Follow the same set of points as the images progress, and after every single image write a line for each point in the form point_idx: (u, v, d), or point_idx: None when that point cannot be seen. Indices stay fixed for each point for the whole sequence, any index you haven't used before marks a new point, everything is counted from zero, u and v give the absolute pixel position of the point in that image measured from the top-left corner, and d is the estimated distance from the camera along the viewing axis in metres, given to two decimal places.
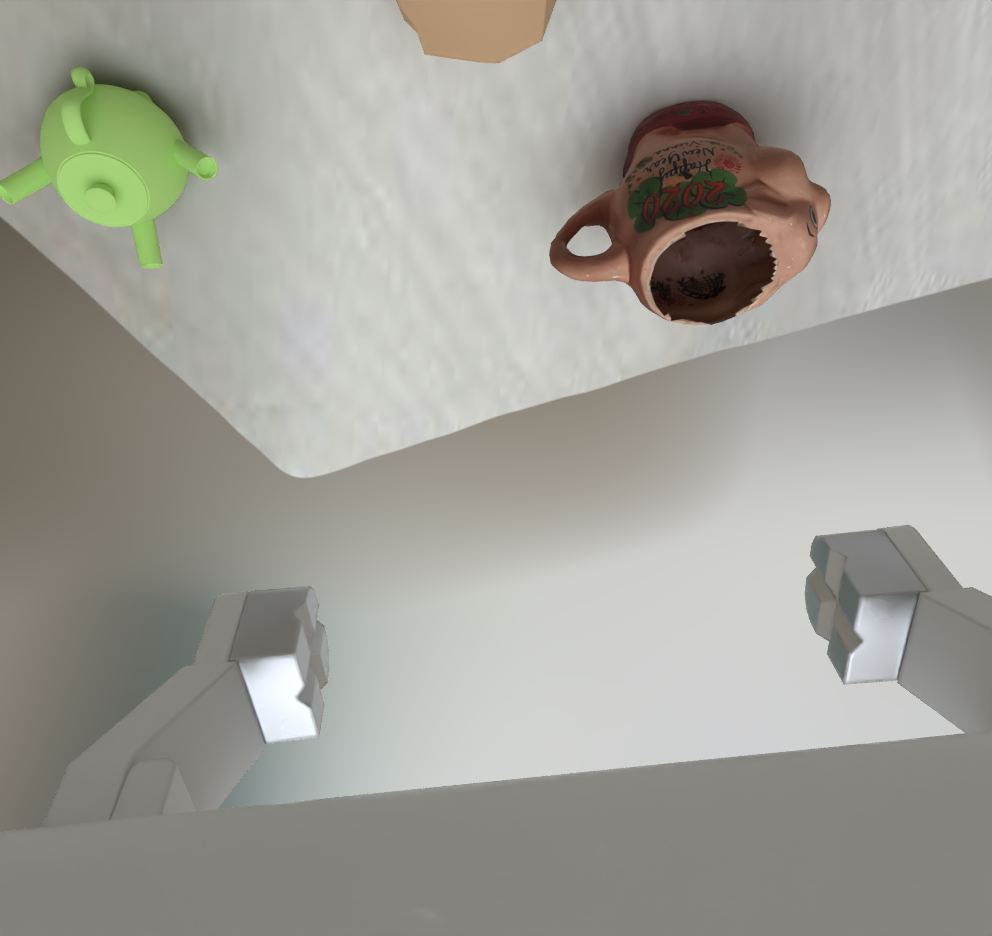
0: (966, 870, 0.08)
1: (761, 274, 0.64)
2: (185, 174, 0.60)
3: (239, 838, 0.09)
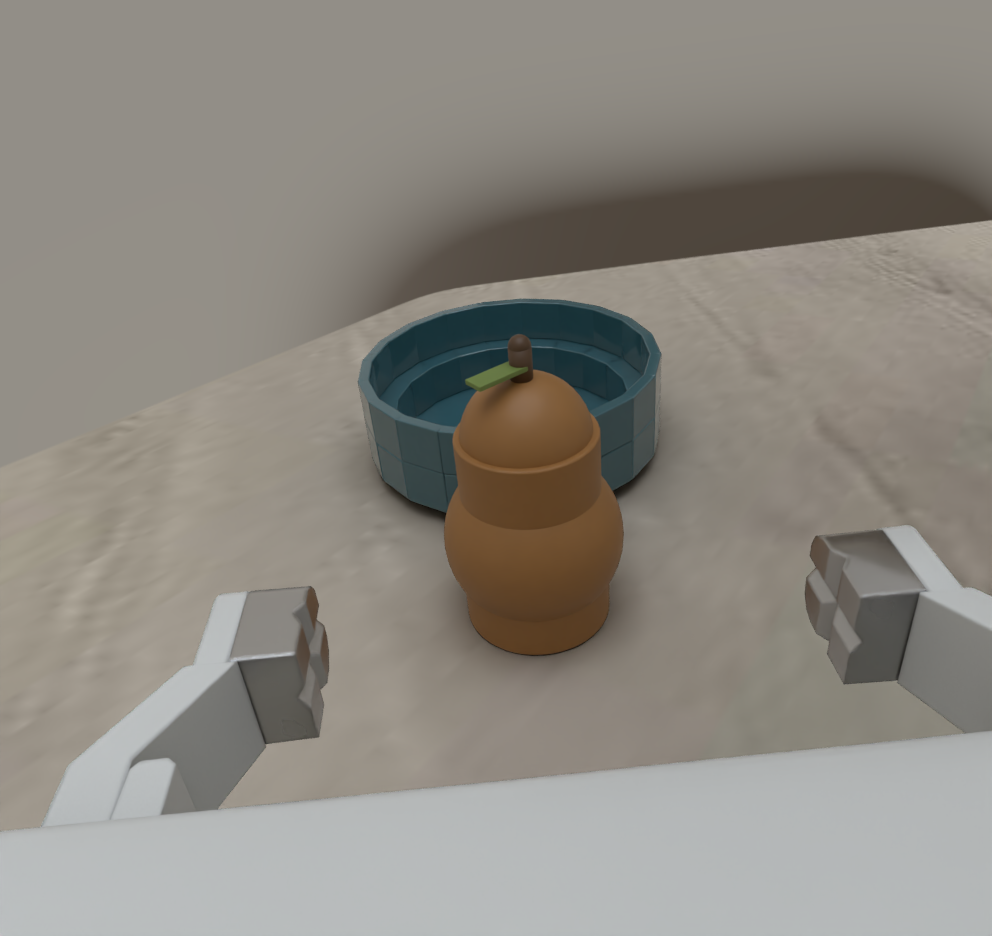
0: (966, 870, 0.08)
1: None
2: None
3: (240, 838, 0.09)
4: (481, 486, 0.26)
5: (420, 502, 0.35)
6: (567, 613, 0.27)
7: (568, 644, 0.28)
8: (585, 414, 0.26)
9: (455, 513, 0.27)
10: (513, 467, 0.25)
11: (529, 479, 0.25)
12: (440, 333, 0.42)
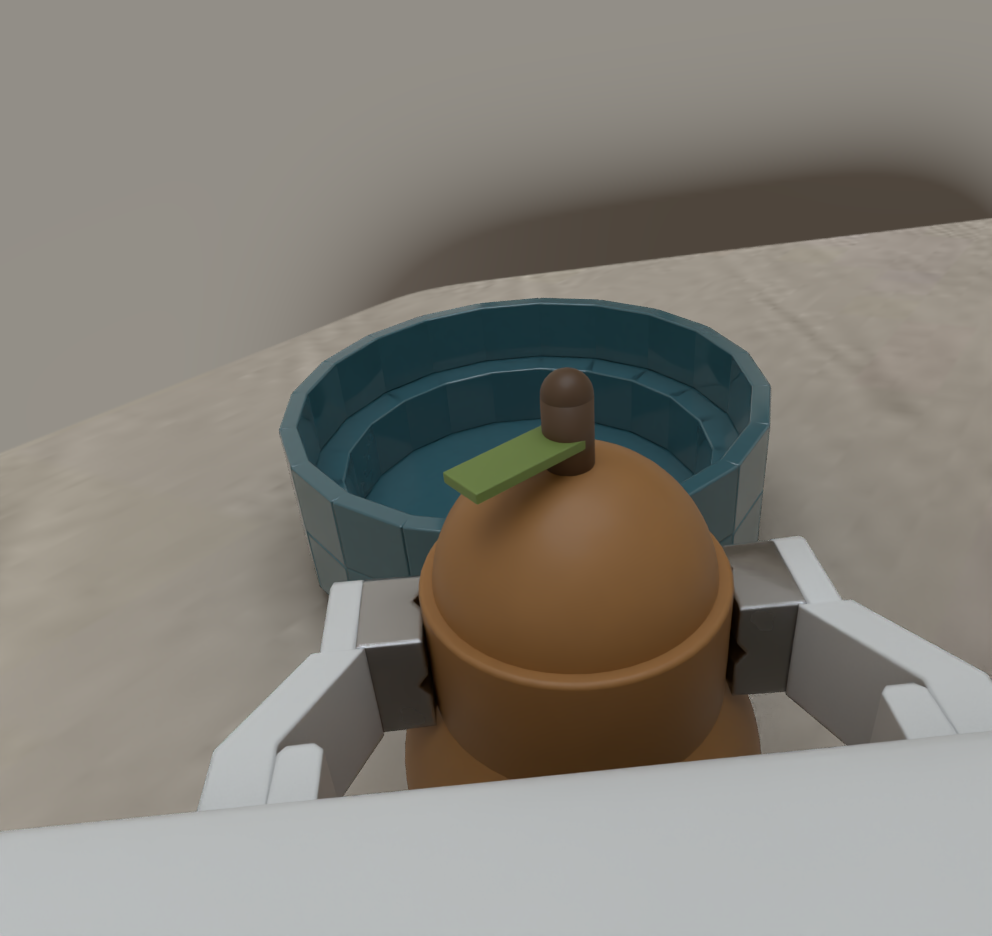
0: (966, 870, 0.08)
1: None
2: None
3: (240, 838, 0.09)
4: (479, 701, 0.12)
5: None
6: None
7: None
8: (707, 541, 0.12)
9: (424, 727, 0.13)
10: (552, 669, 0.11)
11: (589, 699, 0.11)
12: (418, 349, 0.28)
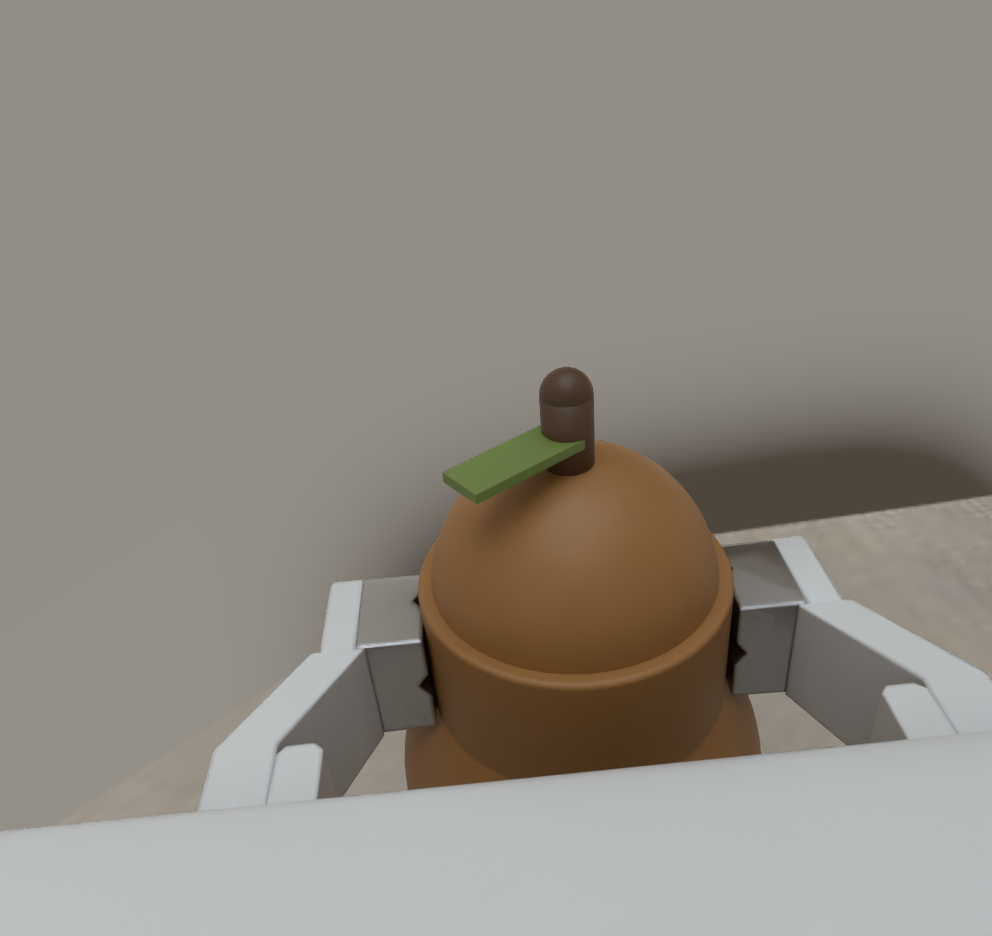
0: (966, 870, 0.08)
1: None
2: None
3: (240, 838, 0.09)
4: (478, 701, 0.12)
5: None
6: None
7: None
8: (707, 541, 0.12)
9: (423, 727, 0.13)
10: (552, 669, 0.11)
11: (588, 699, 0.11)
12: None
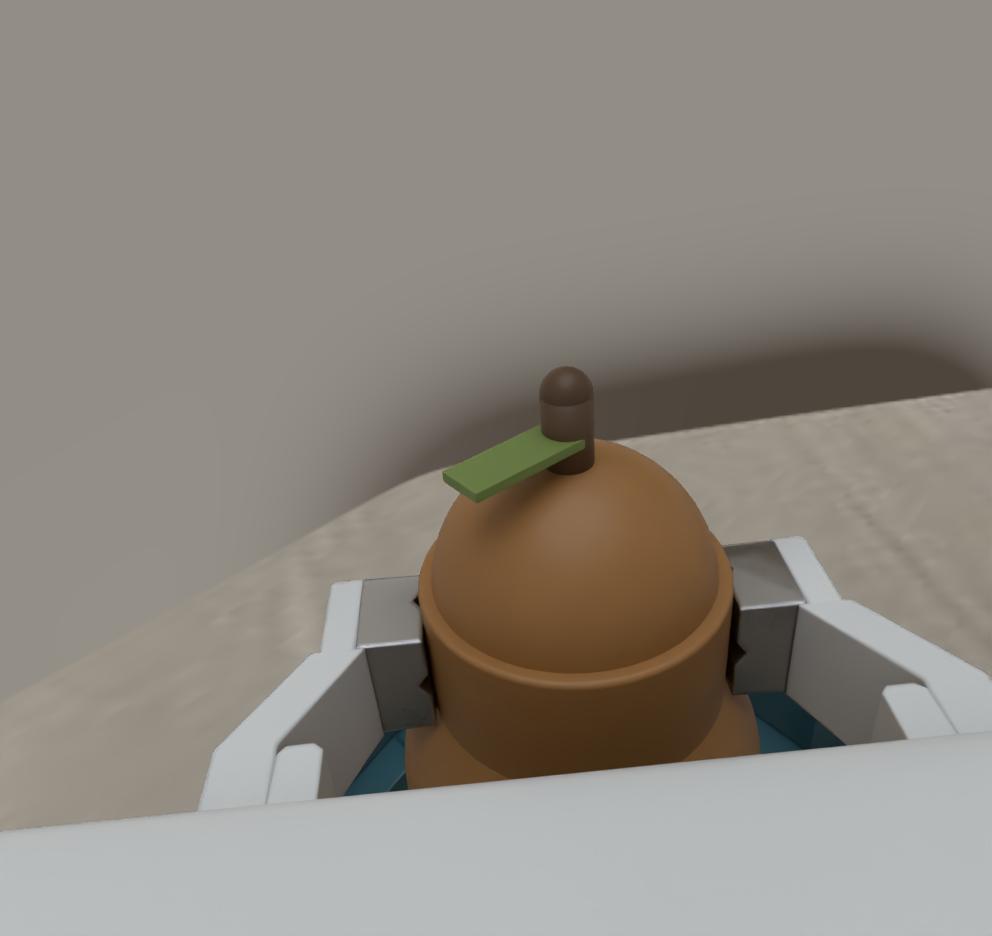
0: (966, 870, 0.08)
1: None
2: None
3: (239, 838, 0.09)
4: (478, 700, 0.12)
5: None
6: None
7: None
8: (707, 540, 0.12)
9: (423, 727, 0.13)
10: (553, 669, 0.11)
11: (588, 698, 0.11)
12: None
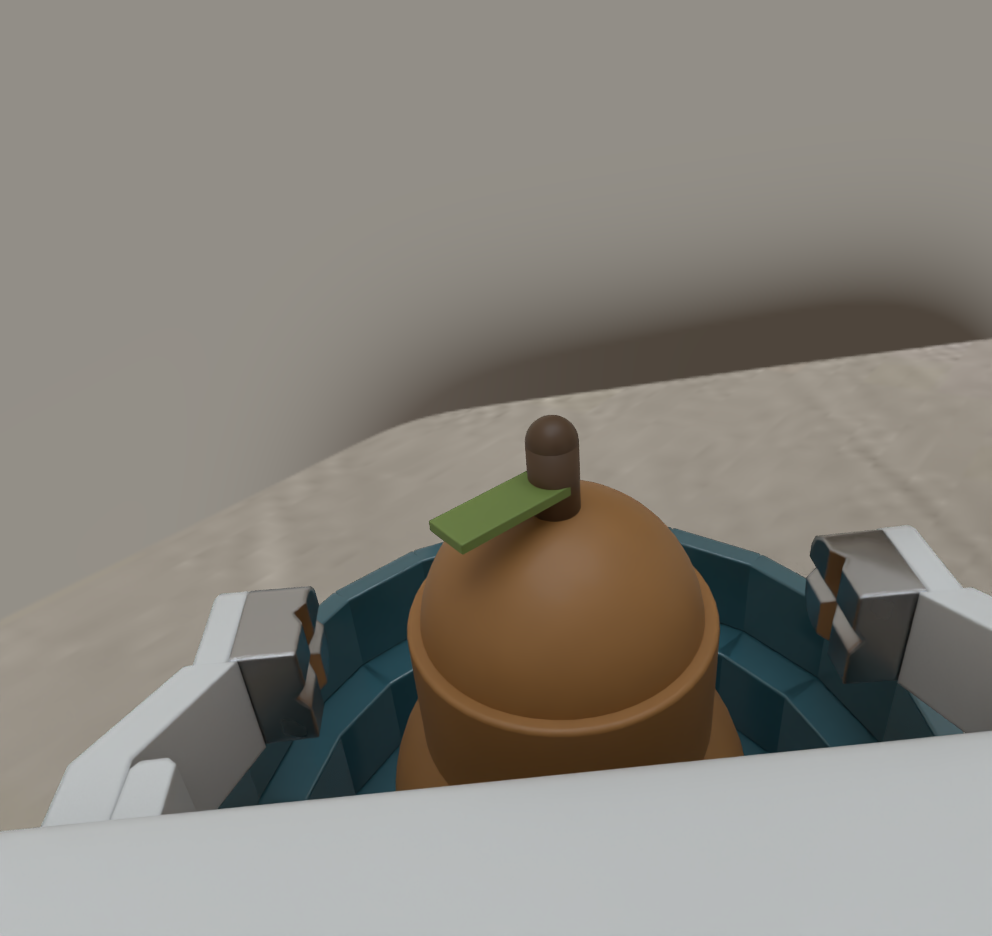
0: (966, 870, 0.08)
1: None
2: None
3: (240, 838, 0.09)
4: (466, 744, 0.12)
5: None
6: None
7: None
8: (692, 584, 0.12)
9: (414, 764, 0.13)
10: (538, 715, 0.11)
11: (575, 744, 0.11)
12: (410, 600, 0.19)
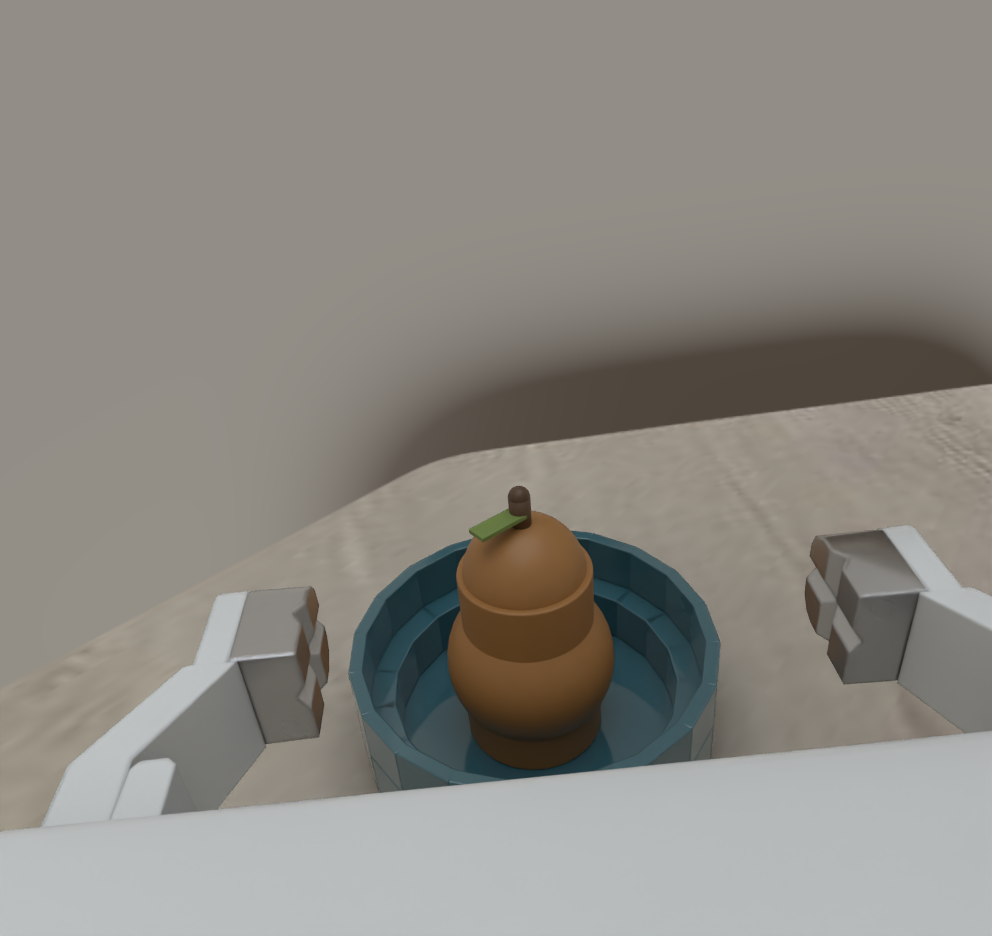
0: (966, 870, 0.08)
1: None
2: None
3: (239, 838, 0.09)
4: (483, 623, 0.28)
5: None
6: (562, 734, 0.29)
7: (562, 760, 0.30)
8: (579, 556, 0.28)
9: (457, 640, 0.29)
10: (513, 608, 0.27)
11: (527, 620, 0.27)
12: (448, 572, 0.35)
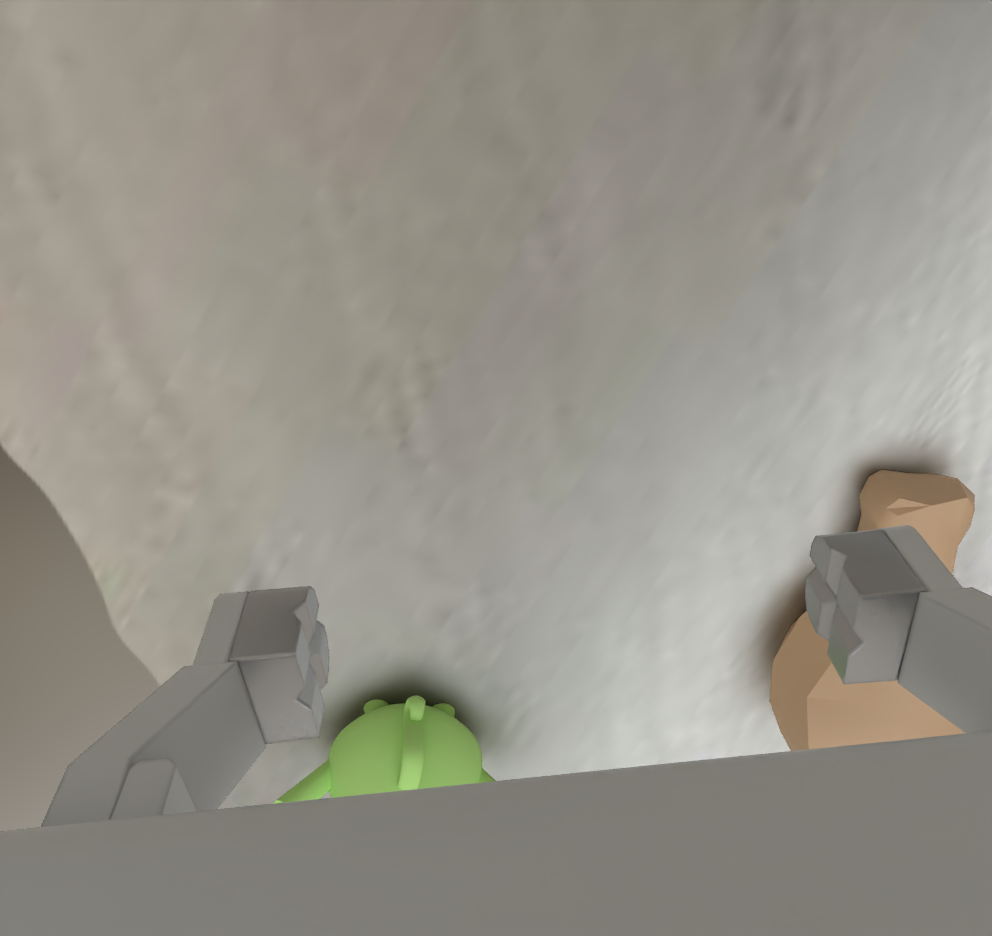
0: (966, 870, 0.08)
1: None
2: None
3: (240, 837, 0.09)
4: None
5: None
6: None
7: None
8: None
9: None
10: None
11: None
12: None
